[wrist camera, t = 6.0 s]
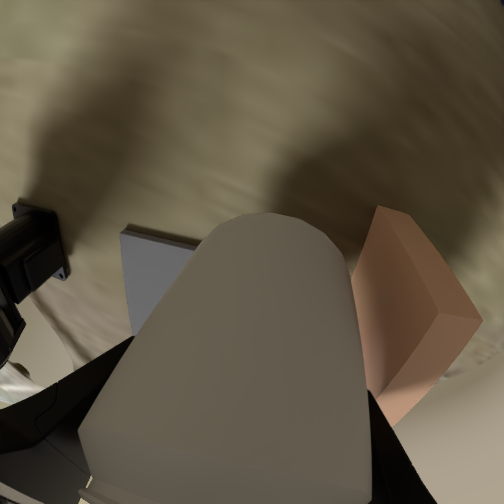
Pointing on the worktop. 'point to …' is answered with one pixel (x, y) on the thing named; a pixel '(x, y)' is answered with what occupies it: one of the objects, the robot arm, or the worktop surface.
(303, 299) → the can
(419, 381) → the tile
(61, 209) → the worktop surface
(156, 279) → the mat
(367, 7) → the worktop surface
